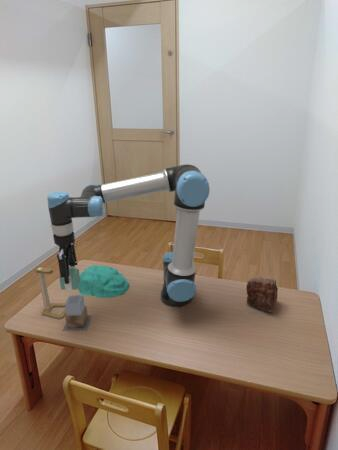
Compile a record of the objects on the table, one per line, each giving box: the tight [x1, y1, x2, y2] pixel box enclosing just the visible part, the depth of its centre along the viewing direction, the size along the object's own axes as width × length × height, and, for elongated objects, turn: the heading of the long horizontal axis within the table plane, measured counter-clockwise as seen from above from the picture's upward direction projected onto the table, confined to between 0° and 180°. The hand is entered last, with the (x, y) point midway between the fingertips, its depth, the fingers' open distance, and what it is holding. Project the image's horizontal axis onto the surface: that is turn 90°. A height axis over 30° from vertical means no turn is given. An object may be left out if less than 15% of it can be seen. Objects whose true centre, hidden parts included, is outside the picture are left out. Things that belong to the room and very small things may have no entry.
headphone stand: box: [35, 266, 66, 320], centre depth 146 cm, size 10×11×22 cm
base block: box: [64, 305, 89, 328], centre depth 142 cm, size 7×7×6 cm
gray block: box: [64, 294, 86, 316], centre depth 139 cm, size 6×6×6 cm
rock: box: [245, 277, 279, 313], centre depth 147 cm, size 14×12×15 cm
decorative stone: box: [76, 264, 130, 299], centre depth 167 cm, size 21×27×10 cm
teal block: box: [58, 268, 81, 291], centre depth 134 cm, size 6×6×6 cm
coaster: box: [62, 314, 93, 332], centre depth 143 cm, size 10×10×1 cm
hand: (71, 284), depth 135 cm, fingers closed on teal block, 6 cm apart
